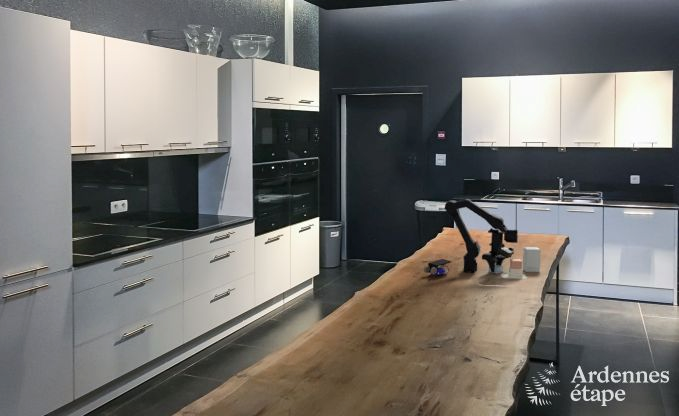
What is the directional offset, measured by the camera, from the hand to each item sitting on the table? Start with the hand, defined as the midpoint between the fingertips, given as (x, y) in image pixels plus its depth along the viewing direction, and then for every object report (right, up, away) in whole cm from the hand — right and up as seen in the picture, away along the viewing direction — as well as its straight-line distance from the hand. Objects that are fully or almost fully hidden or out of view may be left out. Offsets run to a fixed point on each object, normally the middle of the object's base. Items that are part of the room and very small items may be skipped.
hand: (495, 271), depth 345 cm
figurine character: (-31, -2, -6) cm, 31 cm away
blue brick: (0, -1, 0) cm, 1 cm away
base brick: (+8, -1, -8) cm, 11 cm away
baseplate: (+7, -2, -9) cm, 11 cm away
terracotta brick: (+8, +3, -8) cm, 12 cm away
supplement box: (+20, -1, +5) cm, 20 cm away
